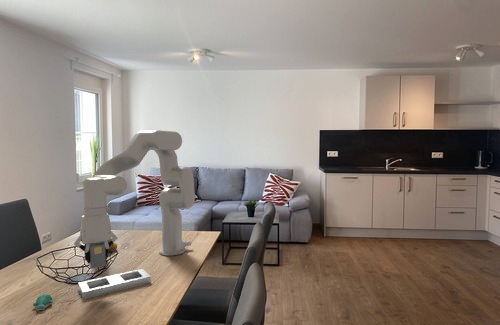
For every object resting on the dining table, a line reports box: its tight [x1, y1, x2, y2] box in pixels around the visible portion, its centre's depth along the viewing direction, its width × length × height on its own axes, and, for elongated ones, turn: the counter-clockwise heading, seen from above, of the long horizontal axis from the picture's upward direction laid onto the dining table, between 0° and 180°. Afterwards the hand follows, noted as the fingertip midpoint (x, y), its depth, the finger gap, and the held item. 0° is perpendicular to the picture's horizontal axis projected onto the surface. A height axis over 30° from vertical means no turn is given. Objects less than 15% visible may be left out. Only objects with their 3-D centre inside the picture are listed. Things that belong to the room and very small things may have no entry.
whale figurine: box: [32, 293, 54, 311], centre depth 114 cm, size 6×7×4 cm
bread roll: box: [107, 241, 118, 253], centre depth 170 cm, size 13×10×8 cm
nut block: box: [87, 242, 107, 269], centre depth 126 cm, size 5×5×8 cm
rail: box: [77, 268, 152, 300], centre depth 130 cm, size 24×10×2 cm, turn 125°
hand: (96, 260), depth 126 cm, fingers closed on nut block, 5 cm apart
